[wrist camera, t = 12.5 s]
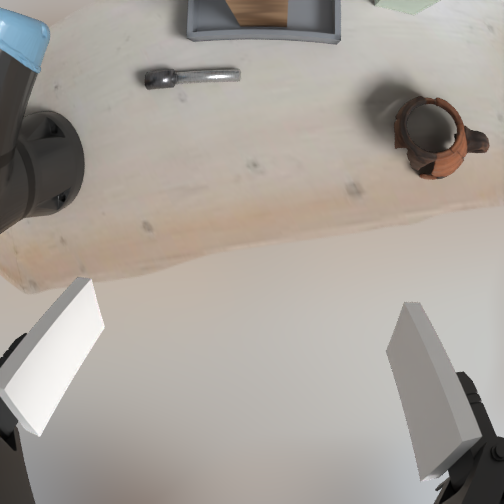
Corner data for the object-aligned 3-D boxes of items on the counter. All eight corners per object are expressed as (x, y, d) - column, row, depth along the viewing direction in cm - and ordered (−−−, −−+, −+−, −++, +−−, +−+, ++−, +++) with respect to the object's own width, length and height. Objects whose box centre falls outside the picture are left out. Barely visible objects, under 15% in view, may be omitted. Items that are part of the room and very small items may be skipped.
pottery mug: (398, 187, 35) (400, 173, 28) (386, 117, 35) (383, 89, 28) (485, 180, 30) (505, 166, 23) (469, 111, 30) (482, 83, 23)
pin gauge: (152, 89, 32) (144, 89, 30) (152, 72, 31) (144, 71, 29) (240, 85, 31) (237, 84, 29) (240, 66, 30) (238, 64, 28)
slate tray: (193, 41, 29) (186, 37, 27) (195, -16, 26) (189, -23, 23) (336, 44, 28) (340, 40, 26) (336, -15, 25) (339, -22, 22)
